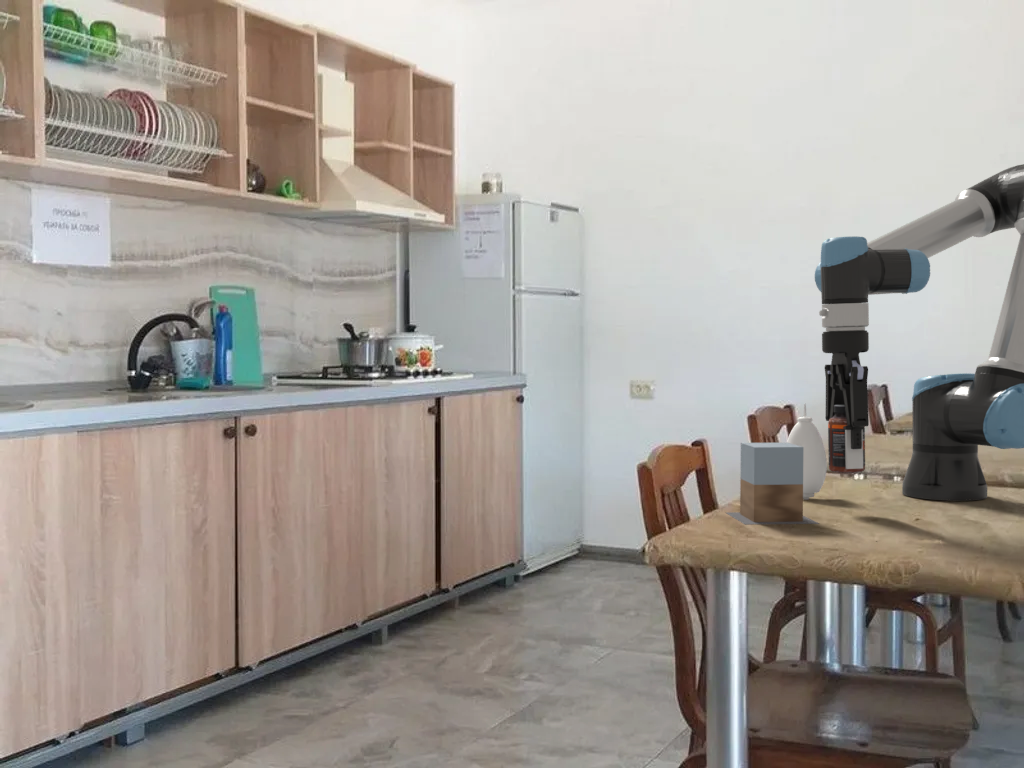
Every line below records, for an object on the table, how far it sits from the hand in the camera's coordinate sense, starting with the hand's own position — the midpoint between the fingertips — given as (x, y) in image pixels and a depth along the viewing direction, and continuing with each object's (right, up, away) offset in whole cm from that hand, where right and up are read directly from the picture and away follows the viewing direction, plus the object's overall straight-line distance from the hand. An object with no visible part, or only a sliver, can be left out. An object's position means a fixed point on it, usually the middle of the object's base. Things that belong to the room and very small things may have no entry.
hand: (847, 465), depth 184 cm
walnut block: (-14, -8, -6) cm, 17 cm away
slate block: (-14, -2, -6) cm, 16 cm away
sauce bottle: (-2, -8, +20) cm, 22 cm away
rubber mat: (-14, -9, -6) cm, 18 cm away
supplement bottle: (0, -1, 0) cm, 1 cm away
